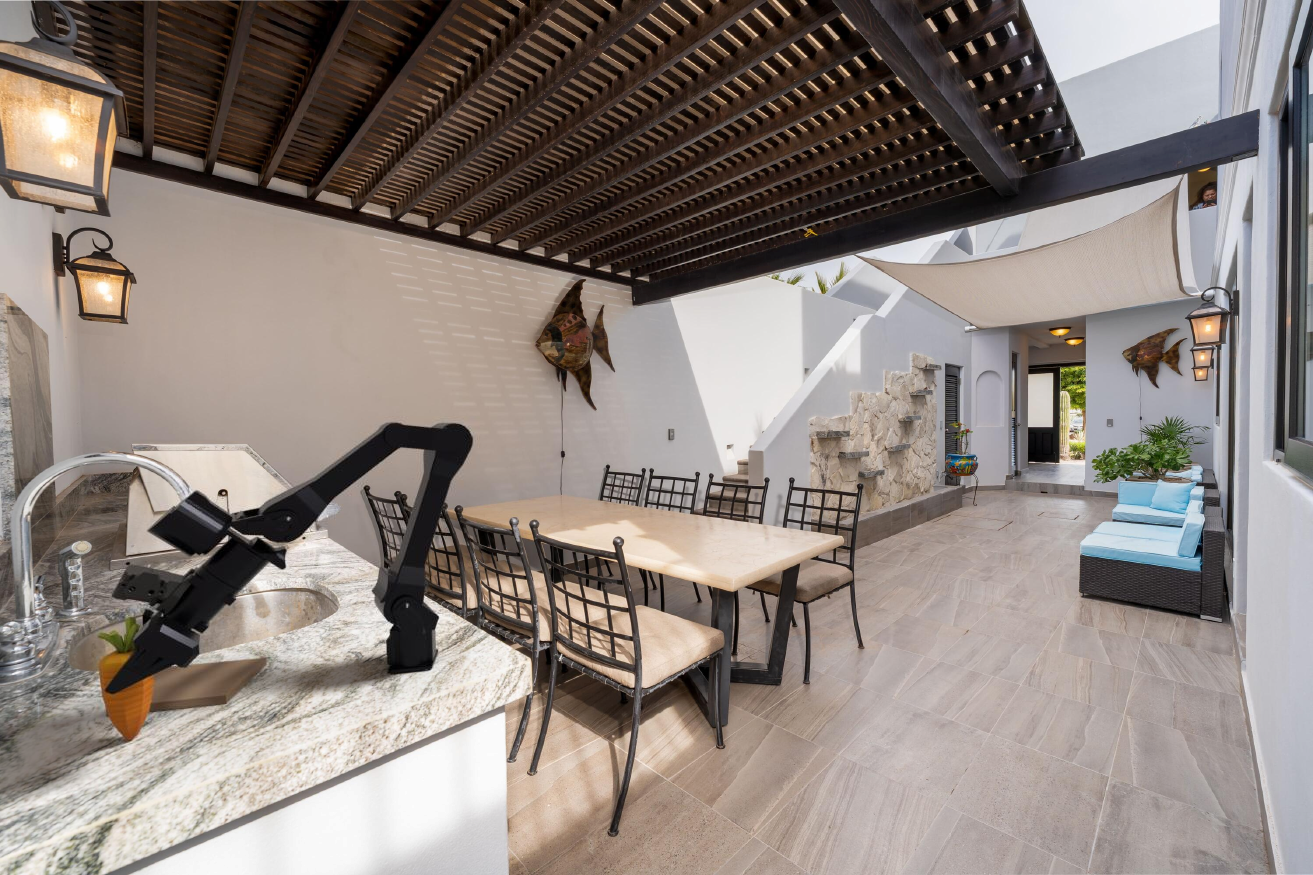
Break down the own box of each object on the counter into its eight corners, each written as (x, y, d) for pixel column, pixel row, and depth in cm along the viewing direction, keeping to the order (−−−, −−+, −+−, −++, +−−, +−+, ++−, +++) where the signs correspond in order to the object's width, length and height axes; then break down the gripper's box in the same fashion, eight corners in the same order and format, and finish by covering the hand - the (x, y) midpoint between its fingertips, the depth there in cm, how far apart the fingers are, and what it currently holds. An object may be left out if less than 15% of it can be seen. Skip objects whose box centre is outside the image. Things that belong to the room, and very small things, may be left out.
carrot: (124, 754, 66) (116, 630, 65) (91, 749, 67) (84, 627, 66) (168, 730, 71) (162, 614, 70) (137, 726, 72) (131, 612, 71)
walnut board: (266, 664, 89) (266, 657, 89) (226, 703, 77) (226, 694, 77) (164, 674, 86) (164, 666, 86) (106, 716, 74) (105, 707, 74)
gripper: (169, 528, 77) (59, 625, 71) (155, 556, 62) (15, 681, 56) (242, 573, 82) (146, 667, 76) (245, 608, 68) (126, 729, 62)
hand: (112, 683), depth 67 cm, fingers closed on carrot, 5 cm apart
